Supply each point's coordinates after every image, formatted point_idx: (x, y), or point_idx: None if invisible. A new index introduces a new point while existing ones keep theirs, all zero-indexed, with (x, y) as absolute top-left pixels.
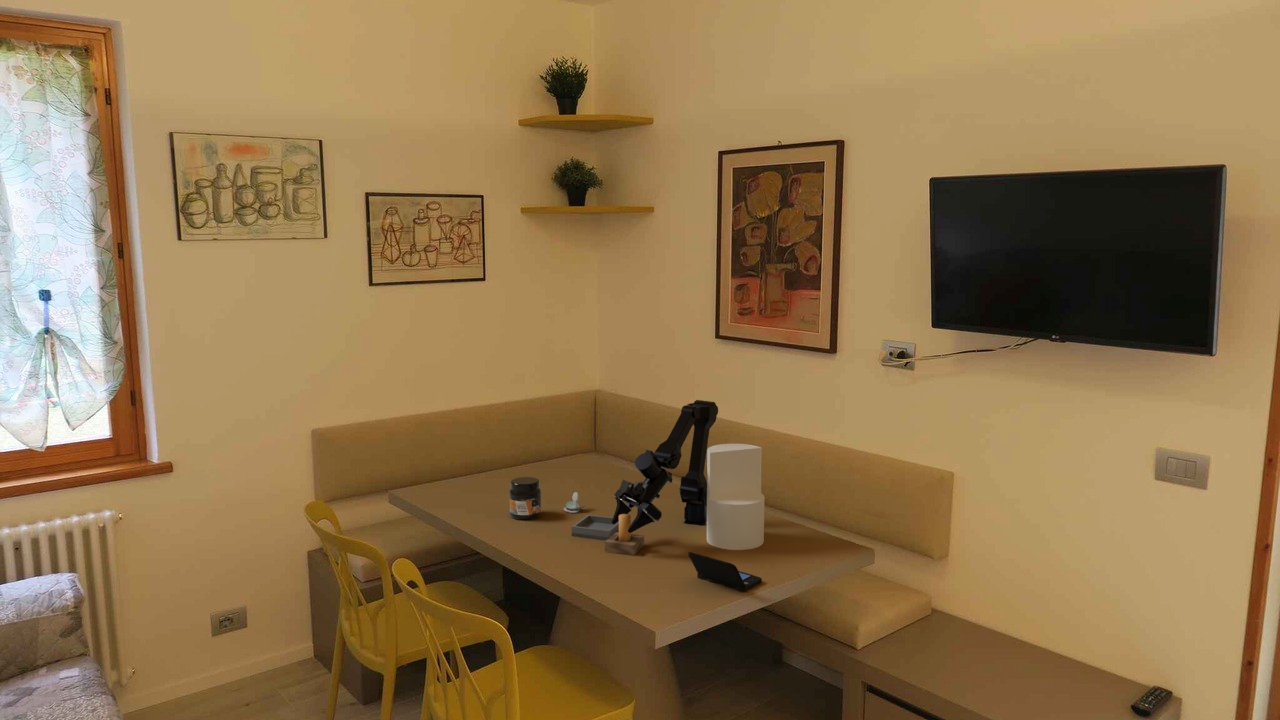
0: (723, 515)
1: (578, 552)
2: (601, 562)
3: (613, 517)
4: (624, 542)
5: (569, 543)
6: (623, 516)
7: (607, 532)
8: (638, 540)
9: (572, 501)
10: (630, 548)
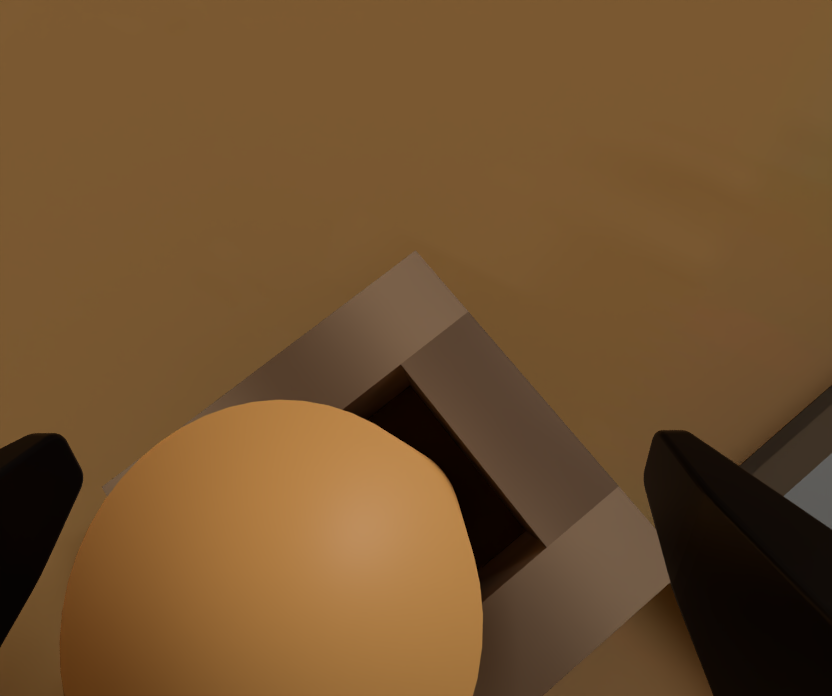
0: None
1: (531, 93)
2: (212, 152)
3: (761, 493)
4: None
5: (800, 117)
6: (232, 535)
7: (781, 483)
8: None
9: None
10: None
